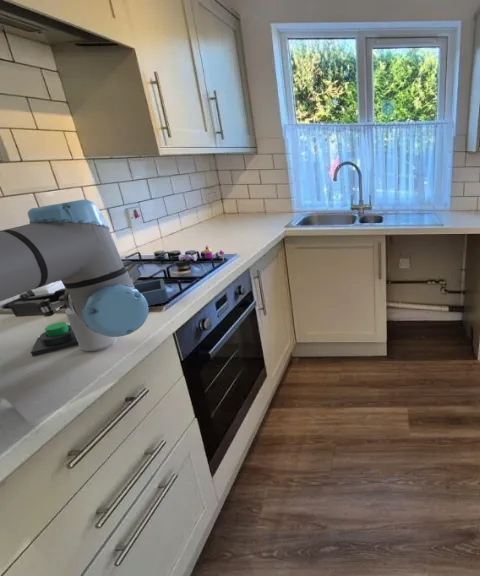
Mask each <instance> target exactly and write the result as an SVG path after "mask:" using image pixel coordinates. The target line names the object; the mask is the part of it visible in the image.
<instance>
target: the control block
mask: <svg viewBox="0 0 480 576" xmlns="http://www.w3.org/2000/svg"><path fill="white" fill-rule="evenodd" d="M67 326H68V329H69V331H68V332H67V333H64V334H62V335H59V336H54V337H48V335H47V333H46V331H44V332H42V333H41V334H40V335H39V337H37V338H36V340H35V343H34V345H33V347H32V348H31V350H30V354H31V356H32V357H36V356H41V355H45V354H47V353H52V352H56V351H61V350H65V349H68V348H72V347H76V346H79V344H78V341H77V339H76V337H75V334H74V332H73V329H72V327H71V325H70V324H67Z"/></svg>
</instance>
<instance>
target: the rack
mask: <svg viewBox="0 0 480 576" xmlns="http://www.w3.org/2000/svg"><path fill="white" fill-rule="evenodd" d="M134 284H135V286H134V287H135V289H137V290H139V292H140V293H142V295H143V296H144V297H145V299H146V301H147V303H148V306H150V305H155V304H158V303H162V302H166V301H169V302H170V300H168V299H169V296H168V291H167V289H166V284H165V281H164V278H158V279H152V280H147V281H142V282H138V283H134Z"/></svg>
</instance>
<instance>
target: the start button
mask: <svg viewBox="0 0 480 576" xmlns="http://www.w3.org/2000/svg"><path fill="white" fill-rule="evenodd" d="M67 325H68V324H67V323H66V322H65V321H60V322H54V323H51V324H48V325H47V326H46V327H45V328H44V330H45V331H44V332H46V333H47V335H48V337H54V336H59V335H62V334H64V333H67V332H68V331H69V329H68V326H67Z"/></svg>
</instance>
